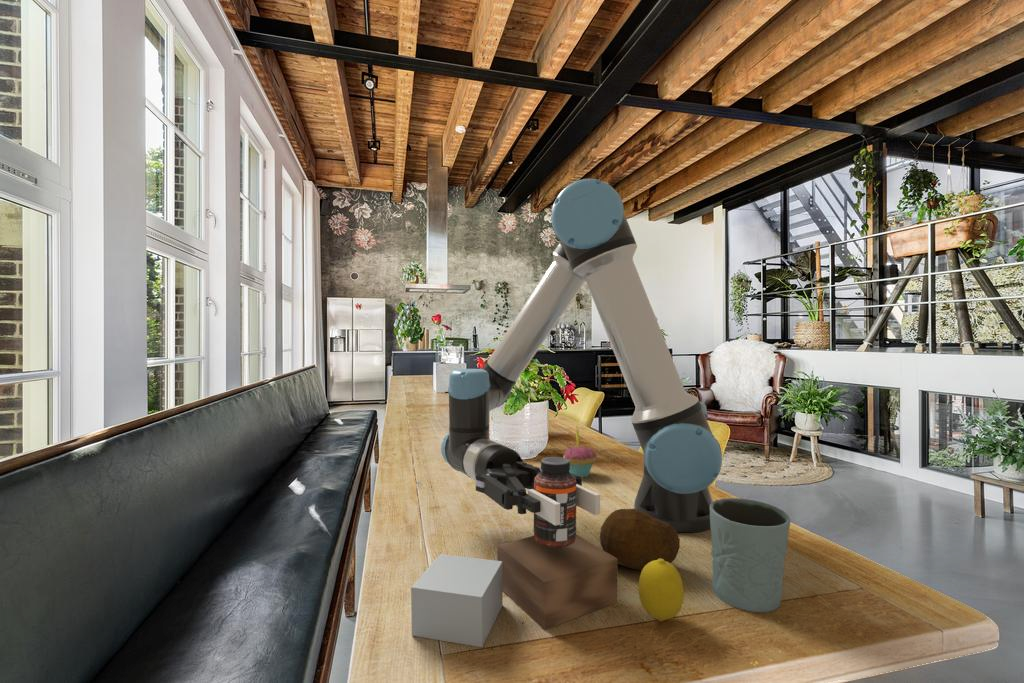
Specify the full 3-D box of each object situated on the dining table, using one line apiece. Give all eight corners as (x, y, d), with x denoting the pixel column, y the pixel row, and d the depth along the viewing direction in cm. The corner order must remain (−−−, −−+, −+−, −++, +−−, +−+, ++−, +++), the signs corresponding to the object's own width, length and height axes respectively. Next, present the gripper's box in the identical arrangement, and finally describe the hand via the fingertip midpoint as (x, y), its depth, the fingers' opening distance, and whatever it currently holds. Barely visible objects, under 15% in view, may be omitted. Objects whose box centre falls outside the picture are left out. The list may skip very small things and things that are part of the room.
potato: (671, 588, 71) (671, 528, 70) (591, 569, 76) (591, 513, 76) (680, 563, 78) (681, 508, 78) (607, 547, 84) (607, 496, 83)
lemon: (674, 607, 66) (674, 548, 66) (690, 633, 60) (691, 569, 60) (633, 608, 66) (633, 549, 65) (645, 635, 60) (646, 570, 60)
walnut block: (564, 565, 78) (564, 527, 77) (617, 602, 67) (617, 558, 67) (497, 586, 71) (497, 545, 71) (544, 630, 61) (544, 582, 61)
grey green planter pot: (728, 570, 76) (729, 493, 75) (800, 597, 68) (802, 511, 68) (695, 594, 69) (695, 509, 69) (771, 627, 62) (772, 532, 61)
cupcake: (557, 471, 127) (557, 425, 127) (587, 468, 130) (587, 423, 129) (571, 481, 119) (571, 432, 119) (603, 478, 122) (603, 429, 121)
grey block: (502, 605, 67) (502, 561, 66) (482, 647, 58) (481, 597, 58) (440, 596, 69) (440, 553, 69) (411, 635, 60) (411, 587, 60)
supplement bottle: (574, 551, 66) (575, 467, 65) (530, 547, 67) (530, 464, 66) (577, 533, 71) (578, 455, 71) (537, 529, 73) (537, 453, 72)
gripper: (539, 478, 89) (631, 523, 69) (442, 497, 80) (516, 555, 60) (539, 437, 89) (632, 470, 69) (442, 451, 79) (516, 493, 60)
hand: (578, 509), depth 65 cm, fingers closed on supplement bottle, 6 cm apart
